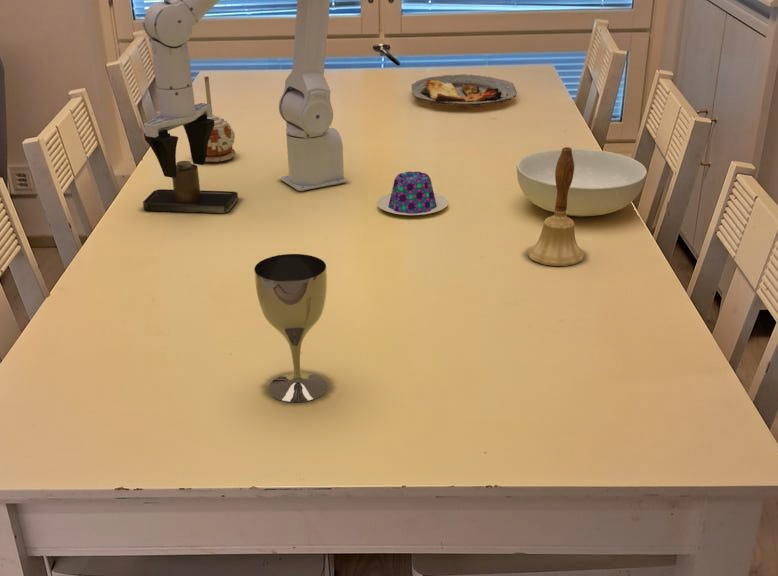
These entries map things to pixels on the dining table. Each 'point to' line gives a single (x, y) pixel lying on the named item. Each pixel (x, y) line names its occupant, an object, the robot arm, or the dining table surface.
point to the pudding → (412, 196)
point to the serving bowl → (583, 181)
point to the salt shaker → (186, 183)
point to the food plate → (463, 90)
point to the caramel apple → (219, 135)
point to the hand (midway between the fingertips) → (184, 170)
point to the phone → (208, 203)
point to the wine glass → (293, 315)
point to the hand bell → (559, 223)
